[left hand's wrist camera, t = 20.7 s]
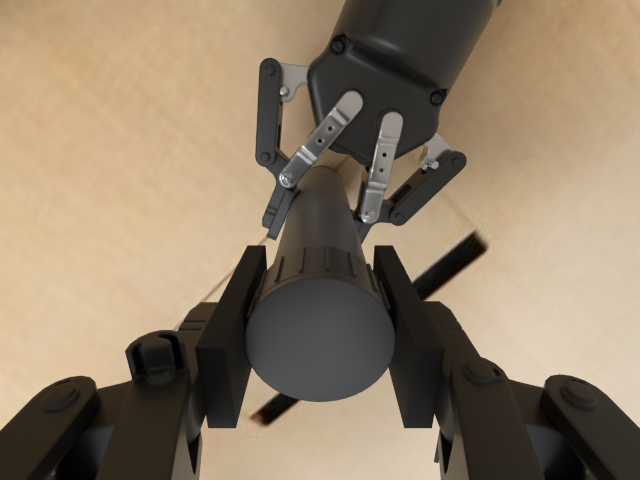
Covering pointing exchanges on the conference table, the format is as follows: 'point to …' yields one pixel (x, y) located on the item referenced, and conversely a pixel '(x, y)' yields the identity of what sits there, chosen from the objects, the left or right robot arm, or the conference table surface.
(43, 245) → the conference table surface
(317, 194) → the bottle
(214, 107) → the conference table surface
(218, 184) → the conference table surface
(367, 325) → the lid
